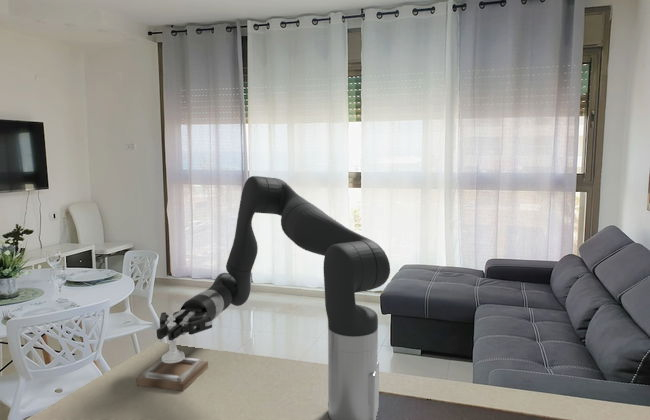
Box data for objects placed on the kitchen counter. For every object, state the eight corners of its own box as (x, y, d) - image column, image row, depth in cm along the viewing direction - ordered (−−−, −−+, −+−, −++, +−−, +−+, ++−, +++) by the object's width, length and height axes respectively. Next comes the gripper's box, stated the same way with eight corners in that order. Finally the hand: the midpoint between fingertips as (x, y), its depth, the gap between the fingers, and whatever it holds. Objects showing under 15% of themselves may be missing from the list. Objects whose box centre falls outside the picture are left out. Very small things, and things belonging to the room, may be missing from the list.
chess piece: (178, 364, 104) (175, 320, 102) (157, 362, 105) (154, 318, 103) (188, 354, 108) (186, 312, 107) (169, 352, 109) (166, 310, 108)
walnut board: (208, 367, 111) (207, 358, 110) (183, 391, 100) (182, 380, 100) (165, 363, 113) (165, 353, 113) (137, 385, 103) (136, 374, 102)
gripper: (177, 292, 120) (134, 316, 104) (228, 296, 117) (192, 321, 100) (178, 320, 121) (136, 349, 105) (229, 325, 118) (194, 355, 101)
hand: (164, 335), depth 103 cm, fingers closed on chess piece
